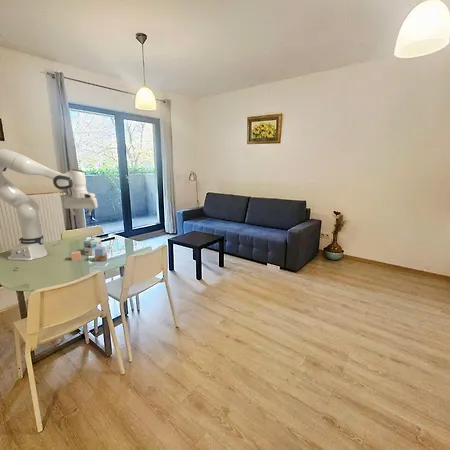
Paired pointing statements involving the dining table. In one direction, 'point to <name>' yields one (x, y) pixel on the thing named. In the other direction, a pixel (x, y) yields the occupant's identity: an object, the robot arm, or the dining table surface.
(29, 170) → the robot arm
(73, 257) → the terracotta block
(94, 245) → the light bulb box
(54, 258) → the dining table surface
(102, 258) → the walnut block
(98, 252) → the slate block
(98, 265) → the tile
